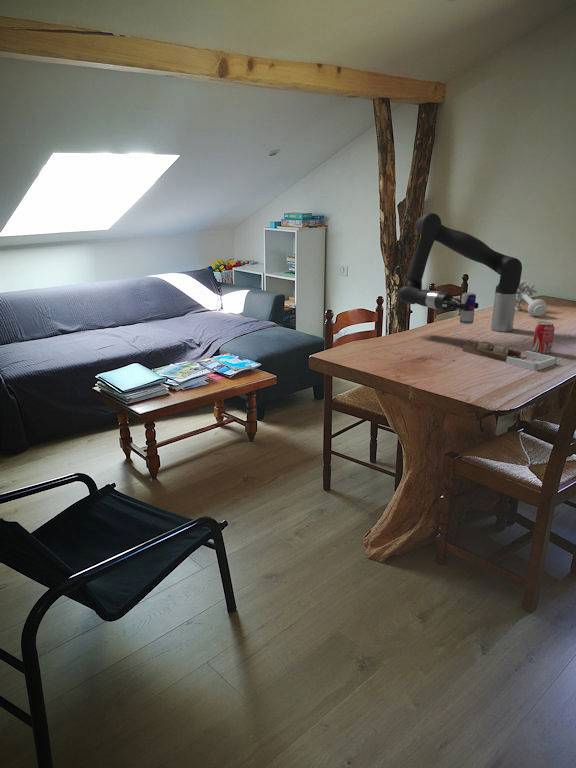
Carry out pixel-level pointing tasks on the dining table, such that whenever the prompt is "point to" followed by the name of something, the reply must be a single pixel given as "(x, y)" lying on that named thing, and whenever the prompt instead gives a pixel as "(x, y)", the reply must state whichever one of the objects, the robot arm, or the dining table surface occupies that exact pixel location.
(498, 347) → the chip
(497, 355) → the slot rails
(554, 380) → the dining table surface
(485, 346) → the tan cube
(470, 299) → the energy drink
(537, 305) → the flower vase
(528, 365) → the tray
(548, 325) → the soda can
